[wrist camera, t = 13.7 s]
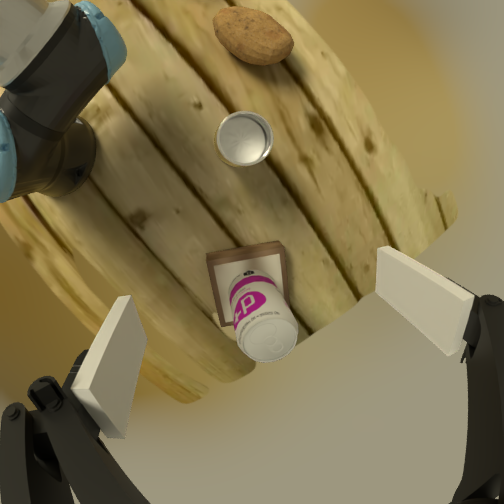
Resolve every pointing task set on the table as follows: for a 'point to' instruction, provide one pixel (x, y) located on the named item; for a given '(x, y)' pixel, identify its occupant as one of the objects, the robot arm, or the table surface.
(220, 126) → the metal tumbler
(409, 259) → the robot arm
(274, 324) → the supplement can
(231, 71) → the table surface
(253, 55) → the potato
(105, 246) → the table surface
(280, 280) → the base
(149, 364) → the table surface
